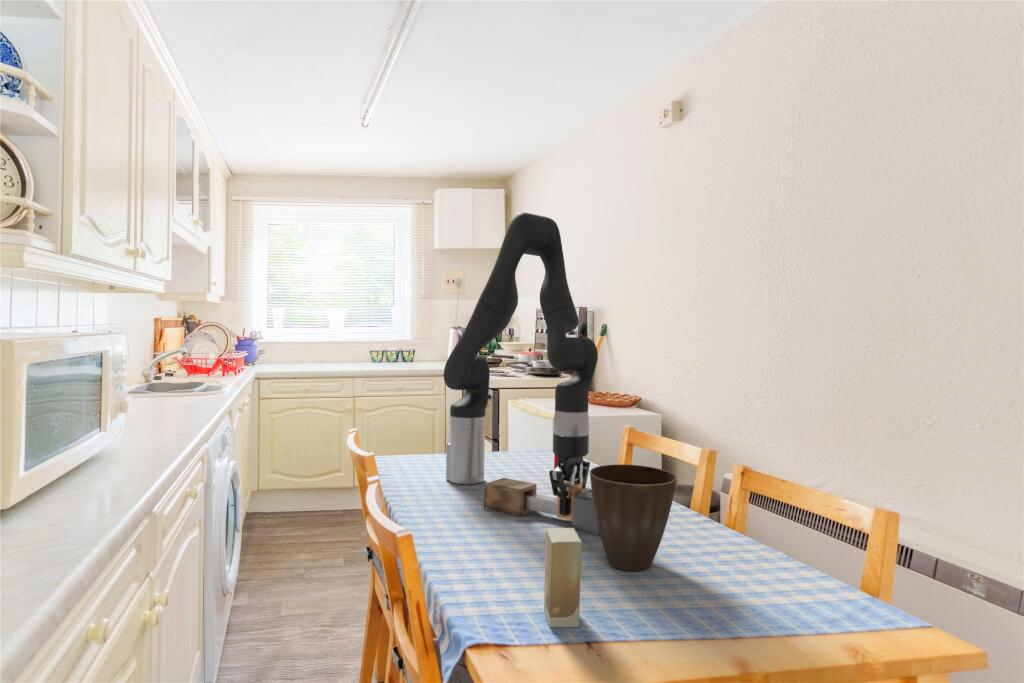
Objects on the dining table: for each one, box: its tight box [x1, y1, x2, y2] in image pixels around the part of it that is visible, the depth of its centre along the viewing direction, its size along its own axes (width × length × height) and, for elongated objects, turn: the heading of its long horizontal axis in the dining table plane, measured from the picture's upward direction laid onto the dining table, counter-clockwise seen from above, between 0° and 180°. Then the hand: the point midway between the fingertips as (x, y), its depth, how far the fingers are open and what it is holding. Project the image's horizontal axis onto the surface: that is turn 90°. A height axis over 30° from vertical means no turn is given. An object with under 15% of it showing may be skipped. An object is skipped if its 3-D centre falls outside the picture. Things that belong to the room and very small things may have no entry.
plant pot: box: [589, 464, 678, 572], centre depth 117 cm, size 15×15×16 cm
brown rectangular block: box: [483, 477, 537, 517], centre depth 149 cm, size 10×6×6 cm, turn 56°
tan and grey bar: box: [524, 481, 583, 521], centre depth 143 cm, size 20×3×7 cm, turn 56°
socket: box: [571, 489, 600, 536], centre depth 137 cm, size 8×8×6 cm
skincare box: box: [543, 527, 583, 629], centre depth 95 cm, size 6×4×12 cm
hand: (569, 512), depth 141 cm, fingers closed on tan and grey bar, 3 cm apart
